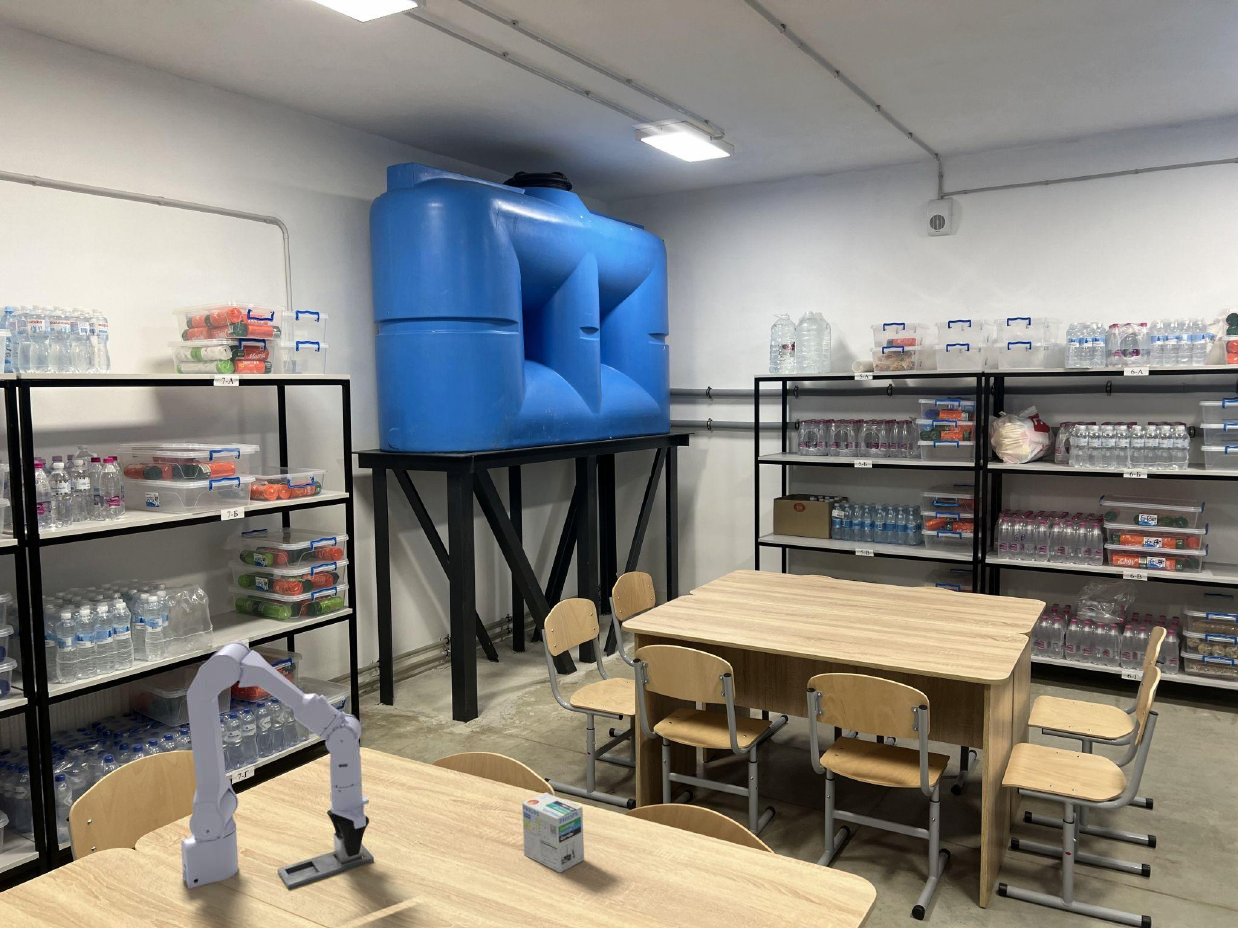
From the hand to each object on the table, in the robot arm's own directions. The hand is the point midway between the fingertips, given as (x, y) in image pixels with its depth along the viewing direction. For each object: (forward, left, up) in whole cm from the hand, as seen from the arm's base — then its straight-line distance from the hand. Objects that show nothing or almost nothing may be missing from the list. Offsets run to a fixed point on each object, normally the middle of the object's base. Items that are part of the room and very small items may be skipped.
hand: (349, 849), depth 173 cm
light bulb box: (+32, -22, -3) cm, 39 cm away
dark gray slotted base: (-5, 0, -3) cm, 5 cm away
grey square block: (0, 0, -2) cm, 2 cm away
